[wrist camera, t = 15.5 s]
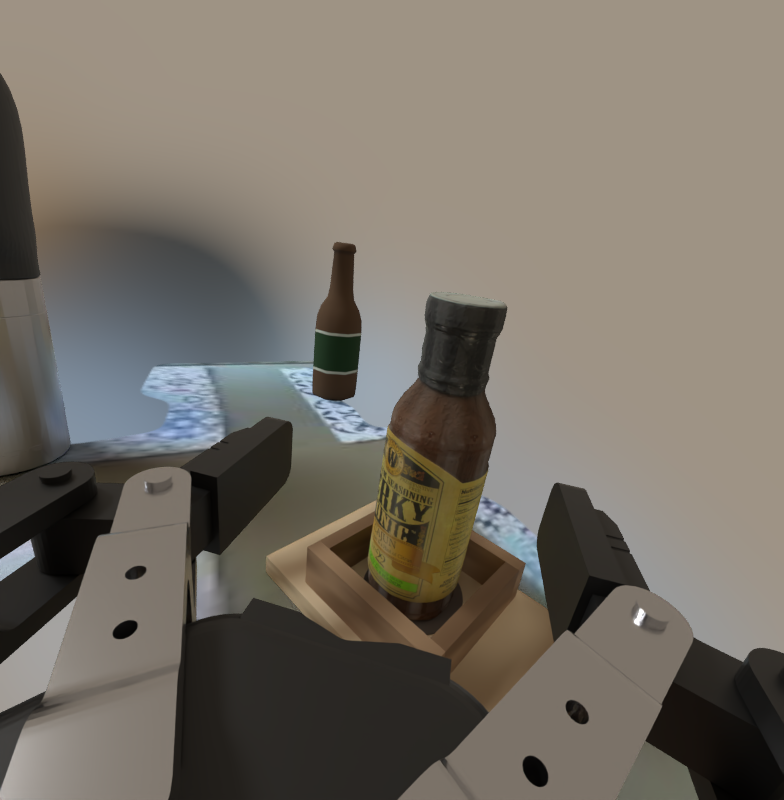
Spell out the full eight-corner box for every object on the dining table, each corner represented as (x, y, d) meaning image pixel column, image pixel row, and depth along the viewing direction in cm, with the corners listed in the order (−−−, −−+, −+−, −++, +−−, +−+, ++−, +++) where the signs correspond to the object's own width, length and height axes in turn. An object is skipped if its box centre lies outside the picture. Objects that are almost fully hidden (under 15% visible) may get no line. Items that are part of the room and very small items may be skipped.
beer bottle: (320, 403, 62) (331, 240, 53) (303, 386, 68) (311, 238, 59) (364, 399, 66) (380, 247, 57) (344, 384, 72) (356, 245, 63)
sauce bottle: (351, 567, 28) (382, 283, 21) (423, 546, 31) (472, 291, 24) (392, 645, 23) (451, 302, 16) (474, 611, 26) (554, 309, 19)
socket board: (266, 572, 29) (266, 522, 27) (379, 510, 37) (384, 470, 36) (472, 803, 18) (494, 742, 16) (566, 642, 26) (585, 591, 25)
